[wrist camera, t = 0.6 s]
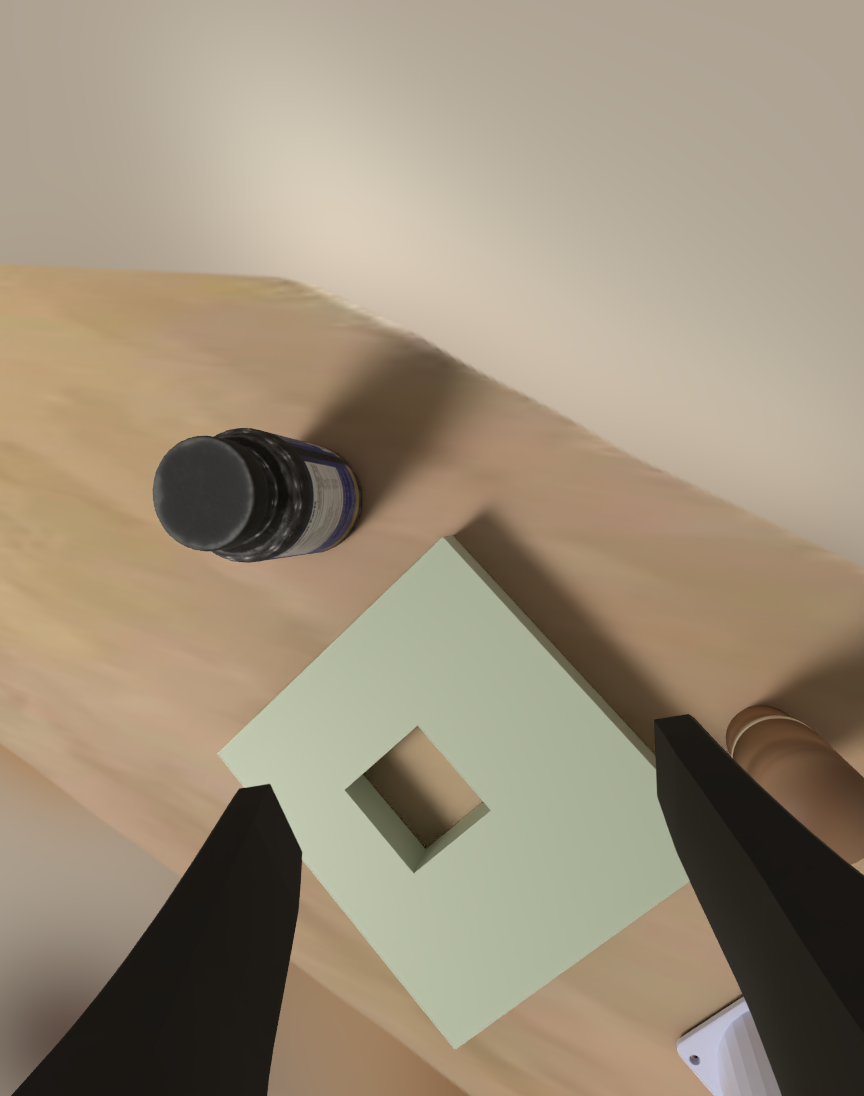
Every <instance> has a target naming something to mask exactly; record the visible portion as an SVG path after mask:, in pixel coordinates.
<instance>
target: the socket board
mask: <svg viewBox="0 0 864 1096" xmlns="http://www.w3.org/2000/svg"><path fill="white" fill-rule="evenodd" d="M416 726H418V727H419V728H420V729H421V730H422V731H423V732H424V734H425V735H426V736H427V737H428V738H429V739H430V741H431V742H432V743H433V744H434V745H435V746H436V747H437V749H438V750H439V751H440V752H441V753H442V754H443V756H444V757H445V758H446V759H447V760H448V761H449V763H450V764H451V765H452V766H453V767H454V768H455V769H456V771H457V772H458V773H459V774H460V775H461V776H462V778H463V779H464V780H465V781H466V782H467V783H468V785H469V786H470V787H471V788H472V789H473V790H474V792H475V793H476V794H477V795H478V796H479V797H480V798H481V800H482V801H483V802H482V803H481V804H480V805H479V806H477V807H476V808H475V809H474V810H472V811H471V812H470V813H469V814H468V815H466V816H465V817H464V818H463V819H462V820H460V821H459V822H458V823H457V824H455V825H454V826H453V827H452V828H451V829H449V830H448V831H447V832H446V833H445V834H443V835H442V836H441V837H440V838H438V839H437V840H436V841H435V842H434V843H432V844H431V845H430V846H429V847H427V848H426V849H425V848H424V847H423V845H422V844H421V843H420V842H419V841H418V839H417V838H416V837H415V836H414V835H413V833H412V832H411V831H410V830H409V829H408V827H407V826H406V825H405V824H404V823H403V821H402V820H401V819H400V818H399V817H398V816H397V814H396V813H395V812H394V811H393V810H392V808H391V807H390V806H389V805H388V804H387V802H386V801H385V800H384V799H383V798H382V796H381V795H380V794H379V793H378V792H377V790H376V789H375V788H374V787H373V786H372V784H371V783H370V782H369V781H368V780H367V778H366V777H365V776H364V775H363V773H364V772H366V771H367V770H368V769H369V768H370V767H371V766H372V765H373V764H375V763H376V762H377V761H378V760H379V759H380V758H381V757H382V756H384V755H385V754H386V753H387V752H388V751H389V750H390V749H392V748H393V747H394V746H395V745H396V744H397V743H398V742H399V741H401V740H402V739H403V738H404V737H405V736H406V735H407V734H408V733H410V732H411V731H412V730H413V729H414V728H415V727H416ZM218 756H219V757H220V758H221V759H222V760H223V762H224V763H225V764H226V765H227V767H228V768H229V769H230V770H231V772H232V773H233V774H234V775H235V777H236V778H237V779H238V780H239V782H240V783H241V784H242V785H243V787H244V788H247V787H253V786H259V785H265V784H271V786H272V789H273V791H274V793H275V795H276V797H277V799H278V801H279V803H280V806H281V808H282V810H283V812H284V814H285V816H286V818H287V820H288V823H289V825H290V827H291V829H292V831H293V833H294V835H295V837H296V839H297V842H298V844H299V846H300V848H301V850H302V860H303V861H304V863H305V864H306V865H307V866H308V868H309V869H310V870H311V871H312V873H313V874H314V875H315V876H316V878H317V879H318V880H319V881H320V883H321V884H322V885H323V886H324V888H325V889H326V890H327V891H328V892H329V894H330V895H331V896H332V897H333V899H334V900H335V901H336V902H337V904H338V905H339V906H340V907H341V909H342V910H343V911H344V912H345V914H346V915H347V916H348V917H349V919H350V920H351V921H352V922H353V924H354V925H355V926H356V927H357V929H358V930H359V931H360V932H361V934H362V935H363V936H364V937H365V939H366V940H367V941H368V942H369V944H370V945H371V946H372V947H373V949H374V950H375V951H376V952H377V954H378V955H379V956H380V957H381V958H382V960H383V961H384V962H385V963H386V965H387V966H388V967H389V968H390V970H391V971H392V972H393V973H394V975H395V976H396V977H397V978H398V980H399V981H400V982H401V983H402V985H403V986H404V987H405V988H406V990H407V991H408V992H409V993H410V995H411V996H412V997H413V998H414V1000H415V1001H416V1002H417V1003H418V1005H419V1006H420V1007H421V1008H422V1010H423V1011H424V1012H425V1013H426V1015H427V1016H428V1017H429V1018H430V1020H431V1021H432V1022H433V1023H434V1024H435V1026H436V1027H437V1028H438V1029H439V1031H440V1032H441V1033H442V1034H443V1036H444V1037H445V1038H446V1039H447V1041H448V1042H449V1043H450V1044H451V1046H452V1047H453V1048H454V1049H457V1048H458V1047H459V1046H461V1045H462V1044H464V1043H465V1042H466V1041H468V1040H469V1039H471V1038H472V1037H473V1036H475V1035H476V1034H478V1033H479V1032H480V1031H482V1030H483V1029H485V1028H486V1027H487V1026H489V1025H490V1024H492V1023H493V1022H494V1021H496V1020H497V1019H498V1018H500V1017H501V1016H503V1015H504V1014H505V1013H507V1012H508V1011H510V1010H511V1009H512V1008H514V1007H515V1006H517V1005H518V1004H519V1003H521V1002H522V1001H524V1000H525V999H526V998H528V997H529V996H530V995H532V994H533V993H535V992H536V991H537V990H539V989H540V988H542V987H543V986H544V985H546V984H547V983H549V982H550V981H551V980H553V979H554V978H556V977H557V976H558V975H560V974H561V973H563V972H564V971H565V970H567V969H568V968H569V967H571V966H572V965H574V964H575V963H576V962H578V961H579V960H581V959H582V958H583V957H585V956H586V955H588V954H589V953H590V952H592V951H593V950H595V949H596V948H597V947H599V946H600V945H601V944H603V943H604V942H606V941H607V940H608V939H610V938H611V937H613V936H614V935H615V934H617V933H618V932H620V931H621V930H622V929H624V928H625V927H627V926H628V925H629V924H631V923H632V922H634V921H635V920H636V919H638V918H639V917H640V916H642V915H643V914H645V913H646V912H647V911H649V910H650V909H652V908H653V907H654V906H656V905H657V904H659V903H660V902H661V901H663V900H664V899H666V898H667V897H668V896H670V895H671V894H673V893H674V892H675V891H677V890H678V889H679V888H681V887H682V886H684V885H685V884H686V883H688V882H689V881H690V880H689V878H688V876H687V874H686V872H685V870H684V867H683V865H682V863H681V861H680V859H679V857H678V854H677V852H676V849H675V846H674V844H673V841H672V838H671V835H670V832H669V830H668V827H667V824H666V821H665V818H664V815H663V812H662V809H661V806H660V803H659V800H658V797H657V782H656V756H655V755H654V754H653V753H652V752H651V750H650V749H649V748H648V747H647V746H646V745H645V744H644V743H643V742H642V741H641V740H640V738H639V737H638V736H637V735H636V734H635V733H634V732H633V731H632V730H631V729H630V728H629V727H628V725H627V724H626V723H625V722H624V721H623V720H622V719H621V718H620V717H619V716H618V715H617V713H616V712H615V711H614V710H613V709H612V708H611V707H610V706H609V705H608V704H607V703H606V701H605V700H604V699H603V698H602V697H601V696H600V695H599V694H598V693H597V692H596V691H595V690H594V688H593V687H592V686H591V685H590V684H589V683H588V682H587V681H586V680H585V679H584V678H583V676H582V675H581V674H580V673H579V672H578V671H577V670H576V669H575V668H574V667H573V666H572V665H571V663H570V662H569V661H568V660H567V659H566V658H565V657H564V656H563V655H562V654H561V653H560V651H559V650H558V649H557V648H556V647H555V646H554V645H553V644H552V643H551V642H550V641H549V639H548V638H547V637H546V636H545V635H544V634H543V633H542V632H541V631H540V630H539V629H538V628H537V626H536V625H535V624H534V623H533V622H532V621H531V620H530V619H529V618H528V617H527V616H526V614H525V613H524V612H523V611H522V610H521V609H520V608H519V607H518V606H517V605H516V604H515V602H514V601H513V600H512V599H511V598H510V597H509V596H508V595H507V594H506V593H505V592H504V591H503V589H502V588H501V587H500V586H499V585H498V584H497V583H496V582H495V581H494V580H493V579H492V577H491V576H490V575H489V574H488V573H487V572H486V571H485V570H484V569H483V568H482V567H481V566H480V564H479V563H478V562H477V561H476V560H475V559H474V558H473V557H472V556H471V555H470V554H469V552H468V551H467V550H466V549H465V548H464V547H463V546H462V545H461V544H460V543H459V542H458V540H457V539H456V538H455V537H454V536H446V537H442V538H441V539H440V540H439V541H438V542H437V543H436V544H435V545H434V546H433V547H432V548H431V549H430V550H429V551H427V552H426V553H425V554H424V555H423V556H422V557H421V558H420V559H419V560H418V561H417V562H416V563H415V564H414V565H413V566H412V567H411V568H410V569H409V570H408V571H407V572H406V573H405V574H404V575H403V576H402V577H400V578H399V579H398V580H397V581H396V582H395V583H394V584H393V585H392V586H391V587H390V588H389V589H388V590H387V591H386V592H385V593H384V594H383V595H382V596H381V597H380V598H379V599H378V600H377V601H376V602H374V603H373V604H372V605H371V606H370V607H369V608H368V609H367V610H366V611H365V612H364V613H363V614H362V615H361V616H360V617H359V618H358V619H357V620H356V621H355V622H354V623H353V624H352V625H351V626H350V627H349V628H347V629H346V630H345V631H344V632H343V633H342V634H341V635H340V636H339V637H338V638H337V639H336V640H335V641H334V642H333V643H332V644H331V645H330V646H329V647H328V648H327V649H326V650H325V651H324V652H323V653H321V654H320V655H319V656H318V657H317V658H316V659H315V660H314V661H313V662H312V663H311V664H310V665H309V666H308V667H307V668H306V669H305V670H304V671H303V672H302V673H301V674H300V675H299V676H298V677H297V678H296V679H294V680H293V681H292V682H291V683H290V684H289V685H288V686H287V687H286V688H285V689H284V690H283V691H282V692H281V693H280V694H279V695H278V696H277V697H276V698H275V699H274V700H273V701H272V702H271V703H270V704H268V705H267V706H266V707H265V708H264V709H263V710H262V711H261V712H260V713H259V714H258V715H257V716H256V717H255V718H254V719H253V720H252V721H251V722H250V723H249V724H248V725H247V726H246V727H245V728H244V729H243V730H241V731H240V732H239V733H238V734H237V735H236V736H235V737H234V738H233V739H232V740H231V741H230V742H229V743H228V744H227V745H226V746H225V747H224V748H223V749H222V750H221V751H220V752H219V753H218Z"/></svg>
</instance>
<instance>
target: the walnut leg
mask: <svg viewBox="0 0 864 1096" xmlns="http://www.w3.org/2000/svg"><path fill="white" fill-rule="evenodd" d="M726 743H727V747H728V750H729V752H730V754H731V757H732V758H733V759H734V760H735V761H736V762H737V763H738V764H739V765H740V766H741V767H742V768H743V769H744V770H745V771H746V772H747V773H748V774H749V775H750V776H751V777H752V778H753V779H754V780H755V781H756V782H757V783H758V784H759V785H760V786H761V787H762V788H763V789H764V790H766V791H767V792H768V793H769V794H770V795H771V796H772V797H773V798H774V799H775V800H776V801H778V802H779V803H780V804H781V805H782V806H783V807H784V808H785V809H786V810H787V811H788V812H789V813H791V814H792V815H793V816H794V817H795V818H796V819H797V820H798V821H799V822H801V823H802V824H803V825H804V826H805V827H806V828H807V829H809V830H810V831H811V832H812V833H813V834H814V835H815V836H817V837H818V838H819V839H820V840H821V841H823V842H824V843H825V844H826V845H827V846H828V847H830V848H831V849H832V850H833V851H834V852H836V853H837V854H838V855H839V856H840V857H842V858H843V859H844V860H845V861H846V862H848V863H849V864H850V865H851V864H853V863H855V862H858V861H859V860H861V859H863V858H864V778H863V777H862V776H861V775H860V774H859V773H858V772H857V771H856V770H855V769H854V768H853V767H852V766H851V765H850V764H849V763H848V762H846V761H845V760H844V759H843V758H842V757H841V756H840V755H839V754H838V753H837V752H836V751H835V750H834V749H833V748H832V747H831V746H829V745H828V744H827V743H826V742H825V741H824V740H823V739H822V738H821V737H820V736H819V735H818V734H817V733H816V732H815V731H813V730H812V729H811V728H810V727H809V726H807V725H806V724H804V723H803V722H801V721H799V720H796V719H794V718H790V717H789V716H788V715H787V714H786V713H784V712H782V711H781V710H778V709H776V708H773V707H768V706H755V707H750V708H747V709H745V710H743V711H741V712H740V713H738V714H737V715H736V716H735V717H734V718H733V719H732V720H731V722H730V724H729V726H728V728H727V732H726Z"/></svg>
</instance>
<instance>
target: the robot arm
mask: <svg viewBox="0 0 864 1096" xmlns="http://www.w3.org/2000/svg"><path fill="white" fill-rule="evenodd" d="M654 727H655V755H656V782H657V797H658V800H659V803H660V806H661V809H662V812H663V815H664V818H665V821H666V824H667V827H668V830H669V832H670V835H671V838H672V841H673V844H674V846H675V849H676V852H677V854H678V857H679V859H680V861H681V863H682V865H683V867H684V870H685V872H686V874H687V876H688V878H689V880H690V882H691V885H692V887H693V889H694V891H695V893H696V895H697V898H698V900H699V902H700V904H701V906H702V908H703V910H704V912H705V915H706V917H707V919H708V921H709V923H710V925H711V927H712V929H713V932H714V934H715V936H716V938H717V940H718V942H719V944H720V946H721V949H722V951H723V953H724V955H725V957H726V959H727V961H728V963H729V966H730V968H731V970H732V972H733V974H734V976H735V978H736V980H737V983H738V985H739V987H740V989H741V992H742V994H743V997H742V998H740V999H739V1000H737V1001H736V1002H734V1003H733V1004H731V1005H729V1006H728V1007H726V1008H725V1009H723V1010H722V1011H720V1012H719V1013H717V1014H716V1015H714V1016H713V1017H711V1018H710V1019H708V1020H707V1021H705V1022H704V1023H702V1024H700V1025H699V1026H697V1027H696V1028H694V1029H693V1030H691V1031H690V1032H688V1033H687V1034H685V1035H684V1036H682V1037H681V1038H679V1039H678V1040H677V1043H676V1045H677V1051H678V1054H679V1055H680V1057H681V1058H682V1059H683V1060H684V1061H685V1063H686V1064H687V1065H688V1066H689V1067H690V1068H691V1070H692V1071H693V1072H694V1073H695V1074H696V1075H697V1077H698V1078H699V1079H700V1080H701V1081H702V1082H703V1084H704V1085H705V1086H706V1087H707V1088H708V1089H709V1091H710V1092H711V1093H712V1094H713V1095H714V1096H864V875H863V874H861V873H860V872H859V871H858V870H856V869H855V868H854V867H853V866H851V865H850V864H849V863H848V862H846V861H845V860H844V859H843V858H842V857H840V856H839V855H838V854H837V853H836V852H834V851H833V850H832V849H831V848H830V847H828V846H827V845H826V844H825V843H824V842H823V841H821V840H820V839H819V838H818V837H817V836H815V835H814V834H813V833H812V832H811V831H810V830H809V829H807V828H806V827H805V826H804V825H803V824H802V823H801V822H799V821H798V820H797V819H796V818H795V817H794V816H793V815H792V814H791V813H789V812H788V811H787V810H786V809H785V808H784V807H783V806H782V805H781V804H780V803H779V802H778V801H776V800H775V799H774V798H773V797H772V796H771V795H770V794H769V793H768V792H767V791H766V790H764V789H763V788H762V787H761V786H760V785H759V784H758V783H757V782H756V781H755V780H754V779H753V778H752V777H751V776H750V775H749V774H748V773H747V772H746V771H745V770H744V769H743V768H742V767H741V766H740V765H739V764H738V763H737V762H736V761H735V760H734V759H733V758H732V757H731V756H730V755H729V754H728V753H727V752H726V751H725V750H724V749H723V748H722V747H721V746H720V745H719V744H718V743H717V742H716V741H715V740H714V739H713V738H712V737H711V736H710V734H709V733H708V732H707V731H706V730H705V729H704V728H703V727H702V726H701V725H700V724H699V723H698V721H697V720H696V719H695V718H693V717H692V716H690V715H689V714H687V715H681V716H675V717H669V718H662V719H656V720H654ZM301 867H302V850H301V848H300V846H299V844H298V842H297V839H296V837H295V835H294V833H293V831H292V829H291V827H290V825H289V823H288V820H287V818H286V816H285V814H284V812H283V810H282V808H281V806H280V803H279V801H278V799H277V797H276V795H275V793H274V791H273V789H272V786H271V784H265V785H259V786H253V787H247V788H241V789H239V790H238V791H237V793H236V794H235V796H234V797H233V799H232V800H231V802H230V803H229V805H228V806H227V808H226V810H225V811H224V813H223V814H222V816H221V818H220V819H219V821H218V822H217V824H216V826H215V827H214V829H213V830H212V832H211V833H210V835H209V837H208V838H207V840H206V841H205V843H204V845H203V846H202V848H201V849H200V851H199V852H198V854H197V855H196V857H195V859H194V860H193V862H192V863H191V865H190V866H189V868H188V869H187V871H186V872H185V874H184V875H183V877H182V878H181V880H180V882H179V883H178V884H177V886H176V888H175V889H174V891H173V892H172V894H171V895H170V897H169V898H168V900H167V901H166V903H165V904H164V906H163V907H162V908H161V910H160V911H159V913H158V914H157V916H156V917H155V919H154V920H153V921H152V923H151V924H150V925H149V927H148V928H147V930H146V931H145V932H144V934H143V935H142V937H141V938H140V939H139V941H138V942H137V944H136V945H135V946H134V948H133V949H132V951H131V952H130V953H129V955H128V956H127V958H126V959H125V960H124V962H123V963H122V964H121V966H120V967H119V968H118V970H117V971H116V972H115V974H114V975H113V976H112V977H111V979H110V980H109V981H108V983H107V984H106V985H105V987H104V988H103V989H102V990H101V992H100V993H99V994H98V996H97V997H96V998H95V999H94V1000H93V1002H92V1003H91V1004H90V1005H89V1007H88V1008H87V1009H86V1010H85V1012H84V1013H83V1014H82V1015H81V1016H80V1018H79V1019H78V1020H77V1021H76V1023H75V1024H74V1025H73V1026H72V1027H71V1029H70V1030H69V1031H68V1032H67V1033H66V1035H65V1036H64V1037H63V1038H62V1039H61V1040H60V1042H59V1043H58V1044H57V1045H56V1046H55V1047H54V1048H53V1050H52V1051H51V1052H50V1053H49V1054H48V1055H47V1056H46V1058H45V1059H44V1060H43V1061H42V1062H41V1063H40V1064H39V1065H38V1066H37V1067H36V1069H35V1070H34V1071H33V1072H32V1073H31V1074H30V1075H29V1077H27V1079H26V1080H25V1081H24V1082H23V1083H22V1084H21V1085H20V1086H19V1088H18V1089H17V1090H16V1091H15V1092H14V1093H13V1094H12V1095H11V1096H267V1091H268V1081H269V1073H270V1066H271V1061H272V1054H273V1047H274V1042H275V1036H276V1031H277V1026H278V1020H279V1014H280V1009H281V1004H282V999H283V993H284V988H285V982H286V977H287V971H288V966H289V961H290V955H291V950H292V944H293V938H294V933H295V927H296V921H297V915H298V909H299V897H300V884H301ZM692 1055H696V1056H698V1058H696V1059H694V1058H691V1057H690V1056H692Z"/></svg>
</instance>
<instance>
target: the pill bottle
mask: <svg viewBox="0 0 864 1096" xmlns="http://www.w3.org/2000/svg"><path fill="white" fill-rule="evenodd" d="M153 501H154V507H155V511H156V514H157V516H158V518H159V520H160V522H161V524H162V526H163V527H164V529H165V530H166V532H167V533H168V534H169V535H170V536H171V537H173V538H174V539H175V540H176V541H177V542H179V543H180V544H182V545H184V546H186V547H188V548H192V549H194V550H200V551H212V552H213V553H215V554H216V555H219V556H220V557H222V558H225V559H228V560H231V561H238V562H257V561H263V560H270V559H277V558H284V557H291V556H298V555H305V554H311V553H319V552H324V551H327V550H329V549H331V548H333V547H335V546H337V545H339V544H340V543H341V542H342V541H344V540H345V539H346V538H347V537H348V536H349V534H350V533H351V532H352V531H353V529H354V528H355V525H356V523H357V521H358V519H359V516H360V512H361V506H362V494H361V487H360V484H359V481H358V478H357V476H356V474H355V472H354V471H353V470H352V468H351V467H350V465H349V464H348V463H347V462H346V461H345V459H344V458H343V457H341V456H340V455H339V454H337V453H336V452H334V451H332V450H330V449H328V448H324V447H321V446H318V445H314V444H310V443H306V442H303V441H299V440H295V439H291V438H287V437H283V436H279V435H276V434H272V433H268V432H264V431H261V430H256V429H251V428H250V429H248V428H238V429H232V430H228V431H226V432H223V433H220V434H217V435H216V436H214V437H211V436H196V437H192V438H188V439H186V440H184V441H182V442H180V443H178V444H177V445H175V446H174V447H173V448H172V449H171V450H169V451H168V453H167V454H166V455H165V456H164V458H163V459H162V461H161V463H160V464H159V467H158V468H157V471H156V475H155V479H154V485H153Z"/></svg>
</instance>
